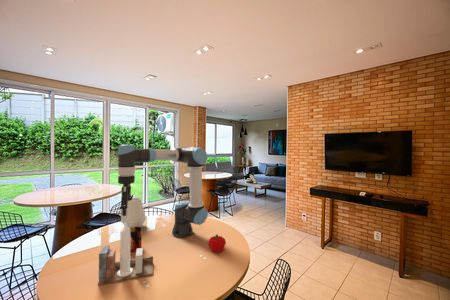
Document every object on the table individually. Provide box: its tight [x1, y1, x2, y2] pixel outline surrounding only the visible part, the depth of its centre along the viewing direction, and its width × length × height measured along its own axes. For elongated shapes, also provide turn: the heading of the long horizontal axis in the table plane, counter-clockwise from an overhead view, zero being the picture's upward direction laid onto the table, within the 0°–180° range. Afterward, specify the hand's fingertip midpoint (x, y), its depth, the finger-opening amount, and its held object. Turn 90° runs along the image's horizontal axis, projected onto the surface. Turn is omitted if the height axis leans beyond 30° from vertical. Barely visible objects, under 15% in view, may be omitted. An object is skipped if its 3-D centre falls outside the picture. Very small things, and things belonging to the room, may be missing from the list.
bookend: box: [135, 247, 144, 274], centre depth 103 cm, size 3×8×9 cm, turn 20°
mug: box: [130, 227, 143, 253], centre depth 126 cm, size 10×14×12 cm
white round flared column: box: [117, 223, 133, 277], centre depth 100 cm, size 7×7×25 cm
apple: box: [207, 234, 226, 254], centre depth 126 cm, size 11×11×10 cm
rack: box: [97, 244, 154, 287], centre depth 101 cm, size 24×11×14 cm, turn 110°
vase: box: [122, 197, 147, 228], centre depth 159 cm, size 18×17×23 cm
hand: (126, 217), depth 101 cm, fingers open, 13 cm apart
